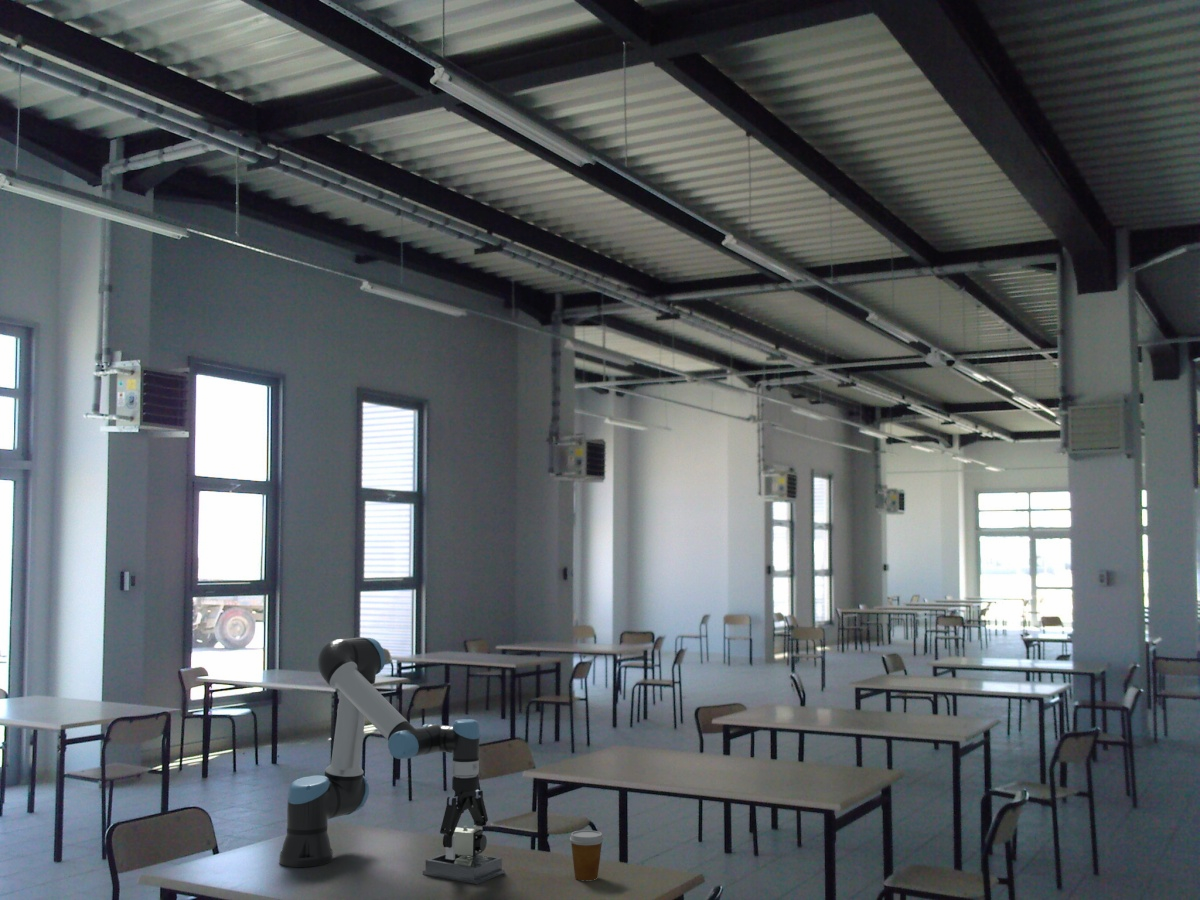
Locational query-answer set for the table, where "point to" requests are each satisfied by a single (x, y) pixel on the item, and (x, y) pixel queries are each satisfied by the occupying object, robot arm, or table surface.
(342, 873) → the table surface
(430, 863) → the rectangular open-top bin
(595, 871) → the disposable coffee cup
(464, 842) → the pneumatic valve
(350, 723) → the robot arm
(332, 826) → the table surface
